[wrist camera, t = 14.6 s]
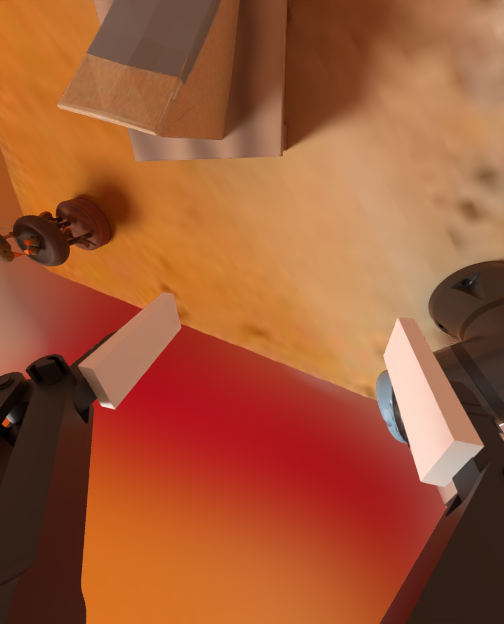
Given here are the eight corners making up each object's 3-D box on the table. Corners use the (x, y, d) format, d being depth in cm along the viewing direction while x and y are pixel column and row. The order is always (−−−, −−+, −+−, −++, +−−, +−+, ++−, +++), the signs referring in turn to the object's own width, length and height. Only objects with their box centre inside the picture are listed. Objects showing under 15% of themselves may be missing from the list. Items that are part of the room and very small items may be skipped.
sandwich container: (250, -75, 20) (153, -395, 8) (224, 141, 29) (160, 138, 17) (156, -96, 21) (-65, -429, 9) (159, 123, 30) (53, 107, 18)
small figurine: (65, 236, 58) (-35, 261, 41) (60, 187, 52) (-59, 194, 35) (124, 259, 58) (47, 294, 41) (125, 213, 52) (37, 232, 35)
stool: (297, -28, 28) (287, -116, 19) (289, 153, 39) (280, 156, 29) (148, 1, 33) (78, -60, 23) (177, 158, 43) (136, 161, 33)
